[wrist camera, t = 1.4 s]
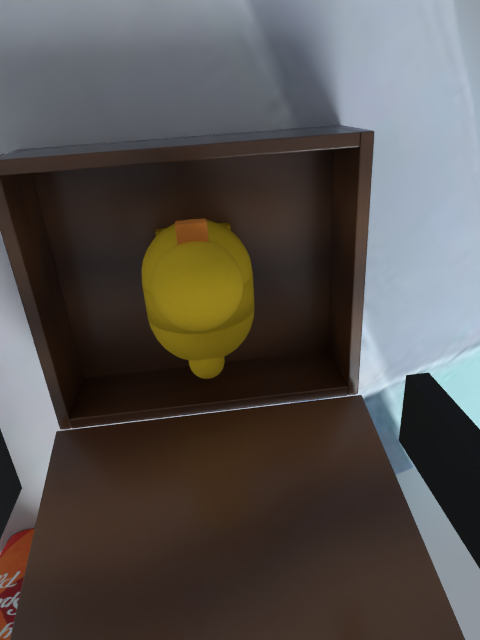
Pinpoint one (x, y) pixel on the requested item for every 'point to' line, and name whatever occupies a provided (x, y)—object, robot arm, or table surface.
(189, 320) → the duck
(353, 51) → the table surface
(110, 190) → the chest
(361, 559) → the lid
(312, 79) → the table surface
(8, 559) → the paper cup
